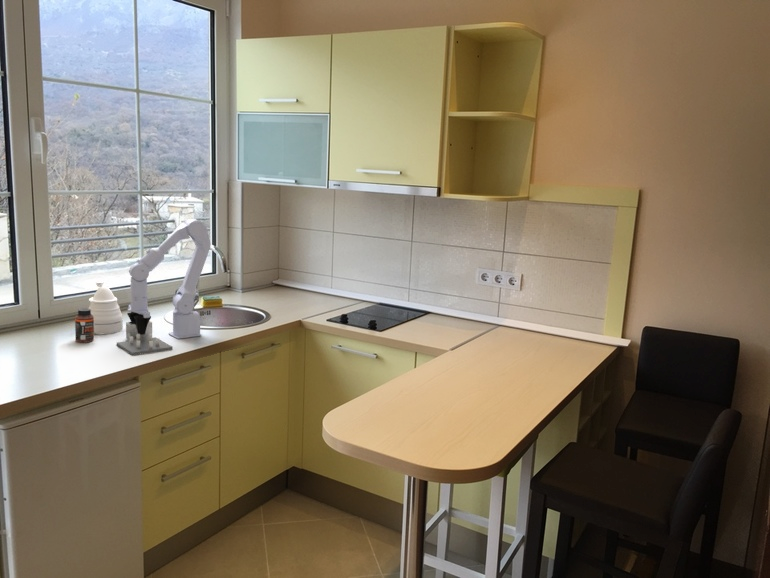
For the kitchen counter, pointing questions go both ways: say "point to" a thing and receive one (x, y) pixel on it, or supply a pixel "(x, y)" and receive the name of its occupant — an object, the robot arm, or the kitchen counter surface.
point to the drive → (133, 331)
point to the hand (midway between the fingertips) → (139, 333)
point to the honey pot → (105, 311)
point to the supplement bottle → (84, 326)
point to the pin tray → (144, 345)
